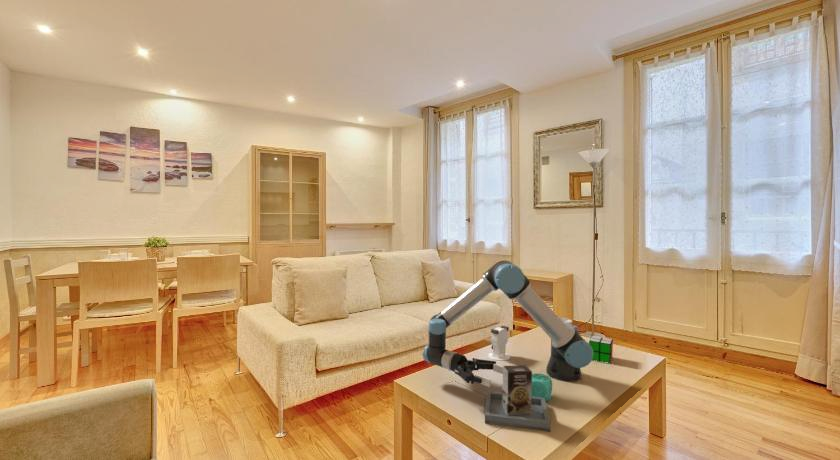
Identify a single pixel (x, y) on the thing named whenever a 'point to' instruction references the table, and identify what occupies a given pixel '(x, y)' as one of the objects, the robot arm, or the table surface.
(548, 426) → the tray
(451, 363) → the robot arm
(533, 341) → the table surface
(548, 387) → the decorative dice
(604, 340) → the puzzle cube
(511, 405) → the coffee box
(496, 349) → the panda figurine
